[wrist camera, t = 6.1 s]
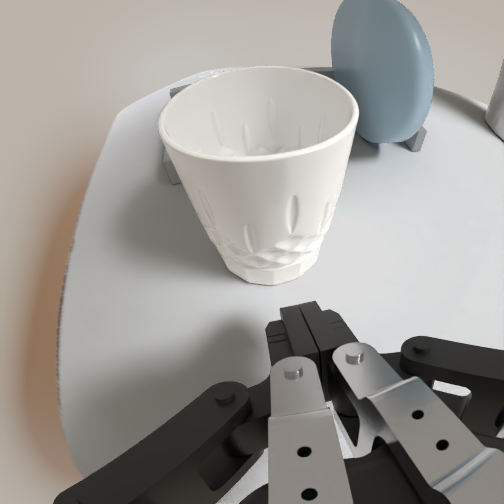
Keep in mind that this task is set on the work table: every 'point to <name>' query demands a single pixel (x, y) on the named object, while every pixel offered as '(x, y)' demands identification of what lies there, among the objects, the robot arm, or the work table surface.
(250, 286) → the work table surface
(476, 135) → the work table surface
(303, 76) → the white cup
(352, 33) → the dish rack
